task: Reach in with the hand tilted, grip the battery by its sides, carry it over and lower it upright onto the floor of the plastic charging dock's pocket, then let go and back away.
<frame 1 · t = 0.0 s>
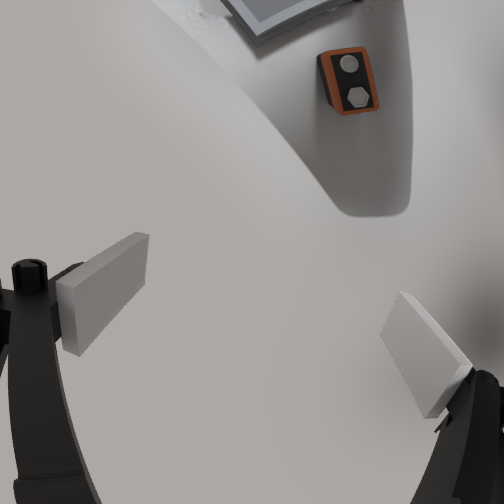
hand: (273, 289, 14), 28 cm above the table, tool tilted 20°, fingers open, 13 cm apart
battery: (338, 77, 31), on the table
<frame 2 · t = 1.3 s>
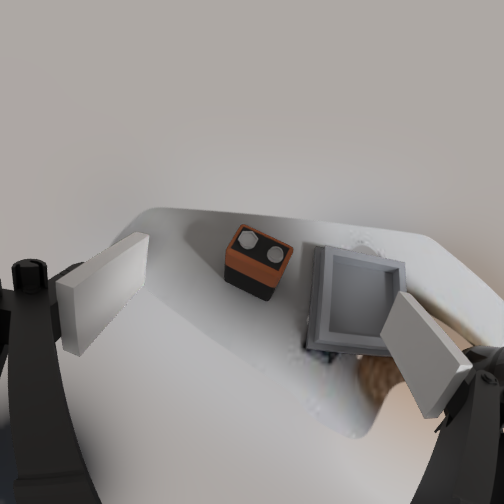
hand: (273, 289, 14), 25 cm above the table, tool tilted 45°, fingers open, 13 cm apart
battery: (251, 279, 41), on the table
charging dock: (359, 304, 41), on the table
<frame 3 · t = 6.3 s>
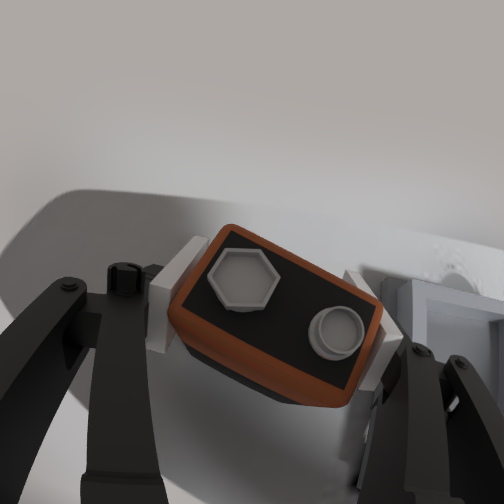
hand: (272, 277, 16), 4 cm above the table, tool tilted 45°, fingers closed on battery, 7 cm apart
battery: (252, 351, 18), on the table, touching gripper
charging dock: (452, 386, 17), on the table
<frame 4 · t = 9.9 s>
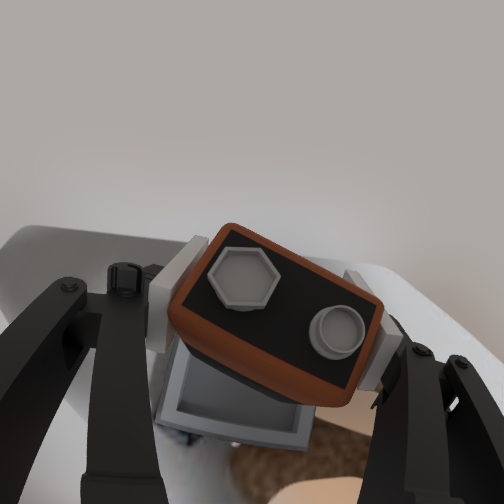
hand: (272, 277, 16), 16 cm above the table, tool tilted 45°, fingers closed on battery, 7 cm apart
battery: (252, 350, 18), point 12 cm above the table, touching gripper
charging dock: (245, 370, 28), on the table
when the fingers open (5 cm above the table, at t = 13.4 s): battery stays where it is, resting on charging dock.
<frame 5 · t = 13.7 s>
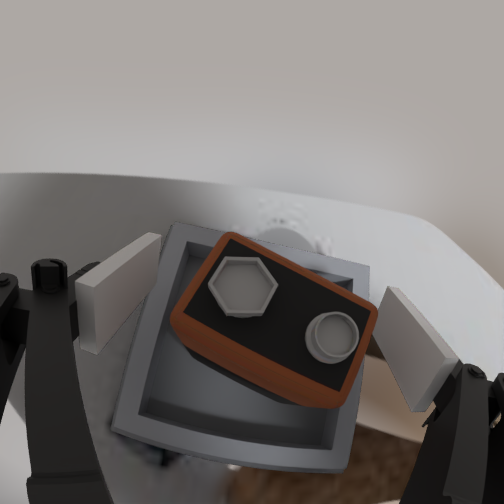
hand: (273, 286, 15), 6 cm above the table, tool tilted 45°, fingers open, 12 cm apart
battery: (251, 352, 18), point 1 cm above the table, touching charging dock
charging dock: (250, 353, 19), on the table
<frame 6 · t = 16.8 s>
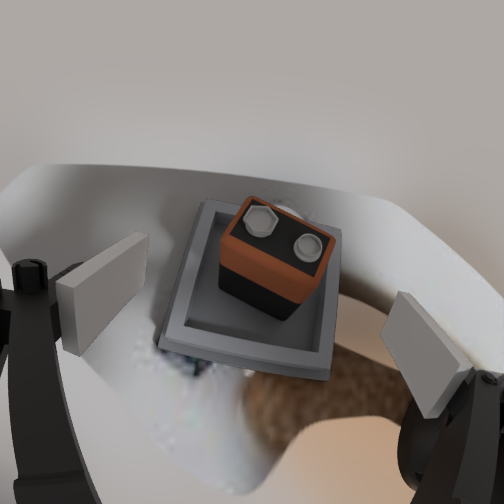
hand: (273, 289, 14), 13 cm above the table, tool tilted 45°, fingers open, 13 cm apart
battery: (260, 287, 27), point 1 cm above the table, touching charging dock
charging dock: (258, 289, 28), on the table
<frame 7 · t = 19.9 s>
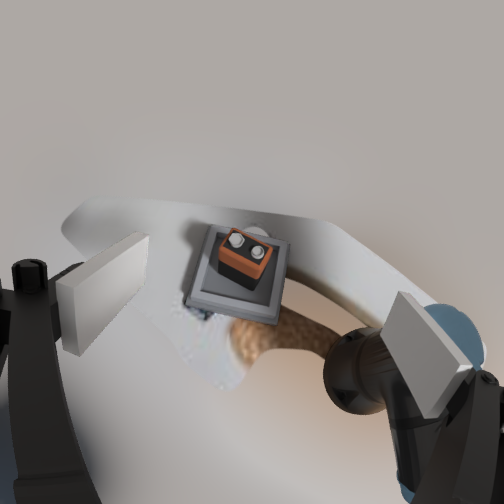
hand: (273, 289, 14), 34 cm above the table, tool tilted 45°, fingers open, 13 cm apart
battery: (240, 273, 50), point 1 cm above the table, touching charging dock
charging dock: (240, 274, 51), on the table
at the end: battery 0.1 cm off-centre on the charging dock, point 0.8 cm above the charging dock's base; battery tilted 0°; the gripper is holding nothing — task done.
